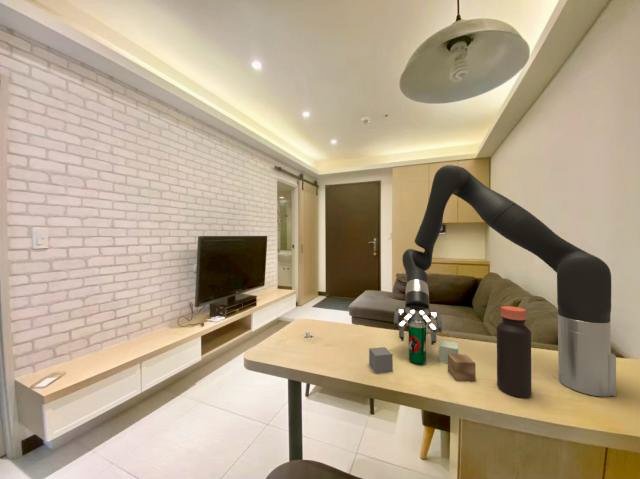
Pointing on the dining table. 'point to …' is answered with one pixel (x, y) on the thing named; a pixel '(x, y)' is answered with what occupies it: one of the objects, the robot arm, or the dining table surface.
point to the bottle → (514, 353)
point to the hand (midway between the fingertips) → (417, 341)
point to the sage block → (447, 350)
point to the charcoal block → (381, 360)
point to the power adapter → (308, 333)
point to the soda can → (417, 342)
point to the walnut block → (461, 367)
